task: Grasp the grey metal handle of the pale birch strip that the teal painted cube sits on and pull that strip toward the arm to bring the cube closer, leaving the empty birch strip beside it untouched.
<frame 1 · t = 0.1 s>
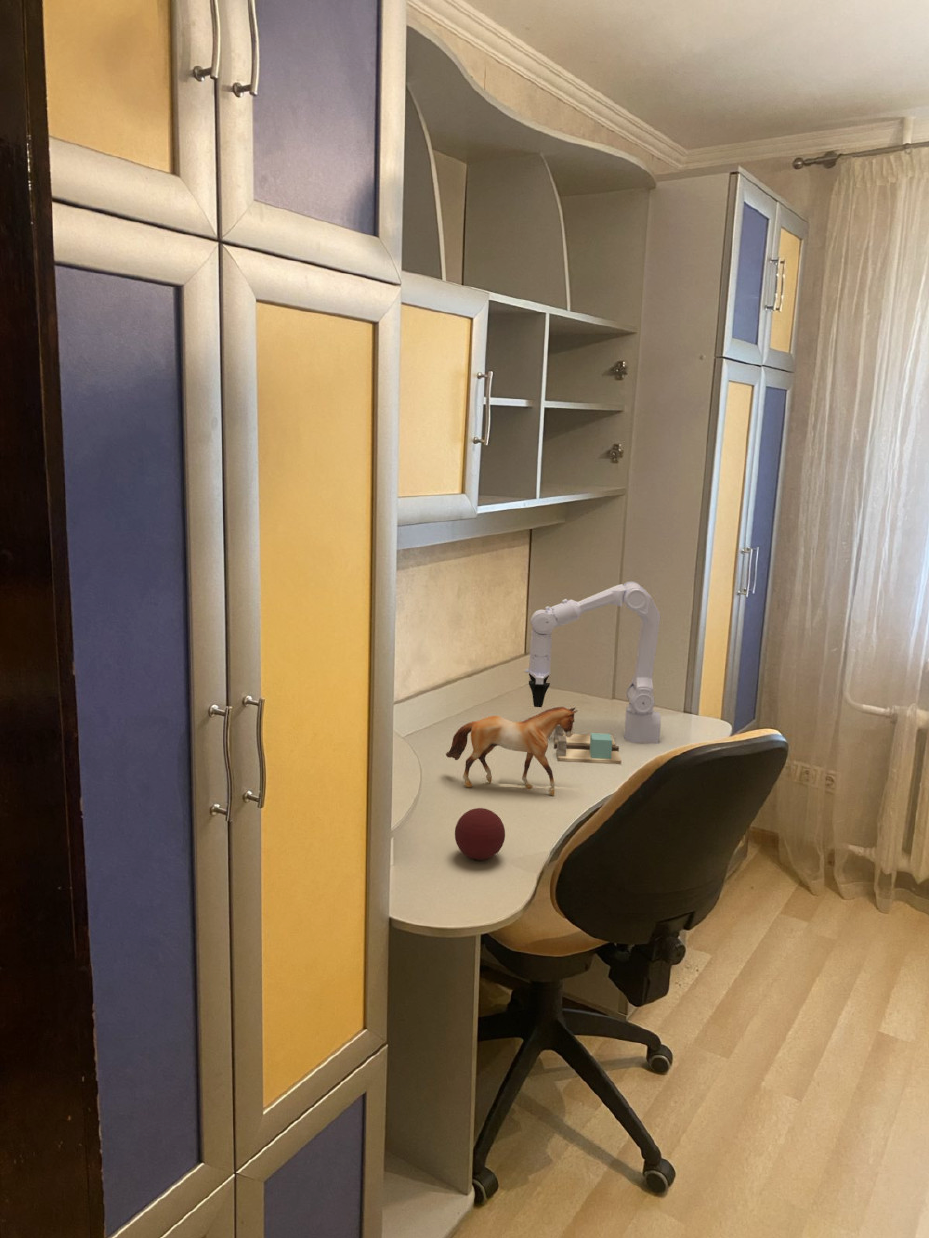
hand: (537, 702, 251), 10 cm above the table, tool pointing down, fingers open, 7 cm apart
loaded strip: (588, 748, 237), point 3 cm above the table, slide at 0.0 cm, touching teal cube
lane board: (586, 753, 243), on the table
horse figurine: (507, 783, 221), on the table
decorative ball: (478, 857, 183), on the table
empty strip: (584, 733, 248), point 3 cm above the table, slide at 0.0 cm
teal cube: (600, 755, 237), point 2 cm above the table, touching loaded strip
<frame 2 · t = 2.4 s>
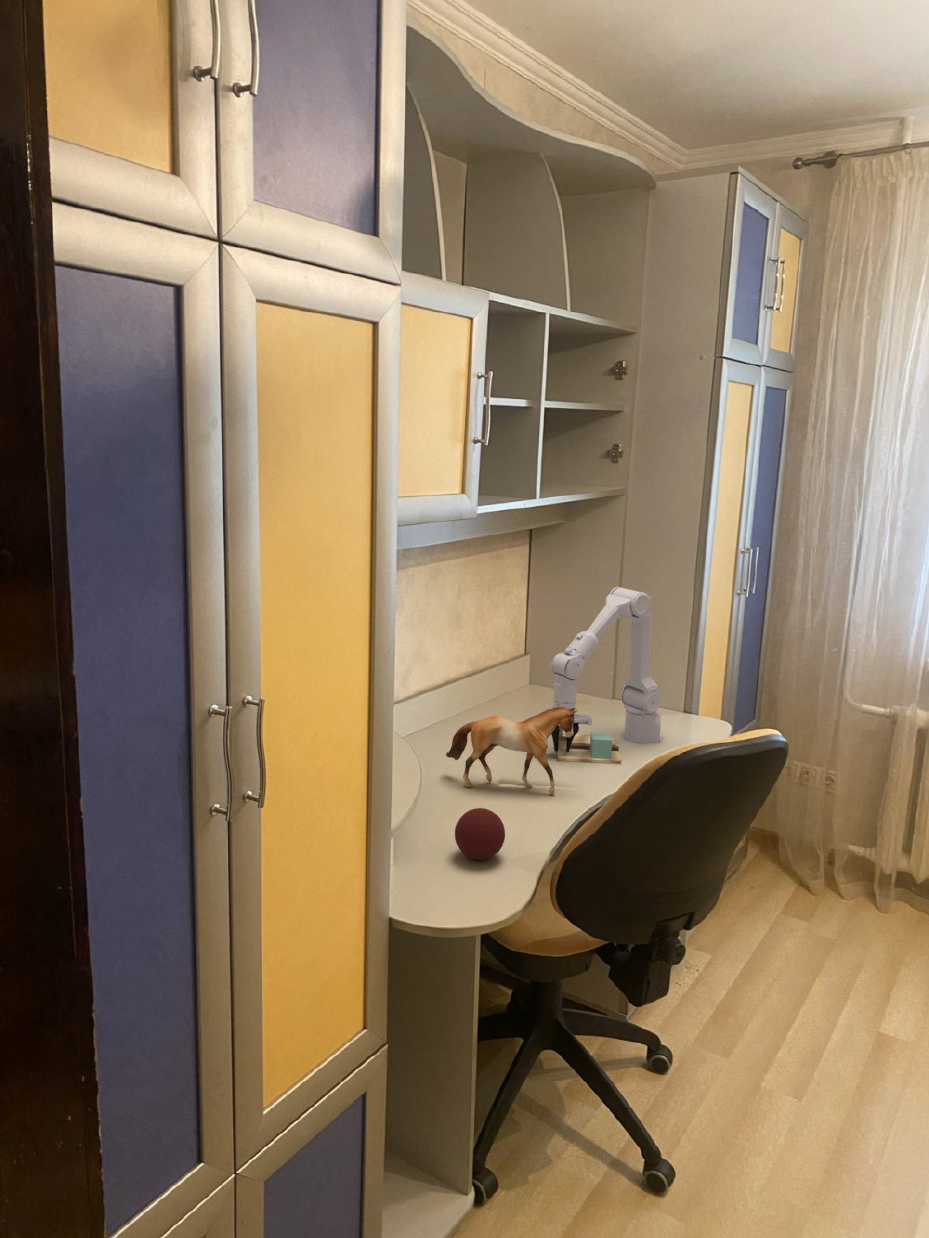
hand: (561, 750, 237), 2 cm above the table, tool pointing down, fingers closed on loaded strip, 2 cm apart
loaded strip: (588, 748, 237), point 3 cm above the table, slide at 0.0 cm, touching gripper, teal cube
everything else where it was.
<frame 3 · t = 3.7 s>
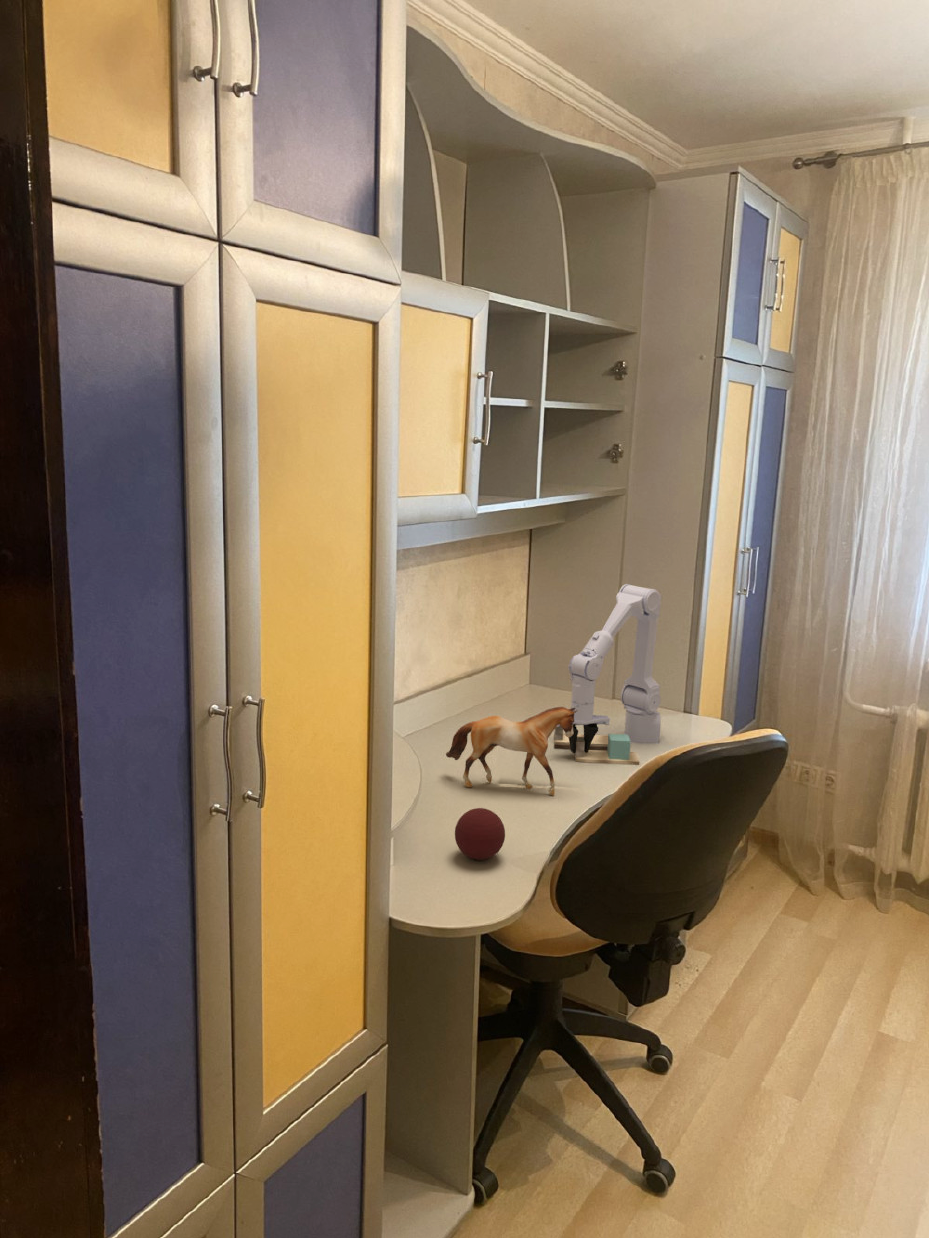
hand: (579, 751, 237), 2 cm above the table, tool pointing down, fingers closed on loaded strip, 3 cm apart
loaded strip: (606, 749, 237), point 3 cm above the table, slide at 4.6 cm, touching gripper, teal cube
teal cube: (618, 755, 237), point 2 cm above the table, touching loaded strip
everything else where it was.
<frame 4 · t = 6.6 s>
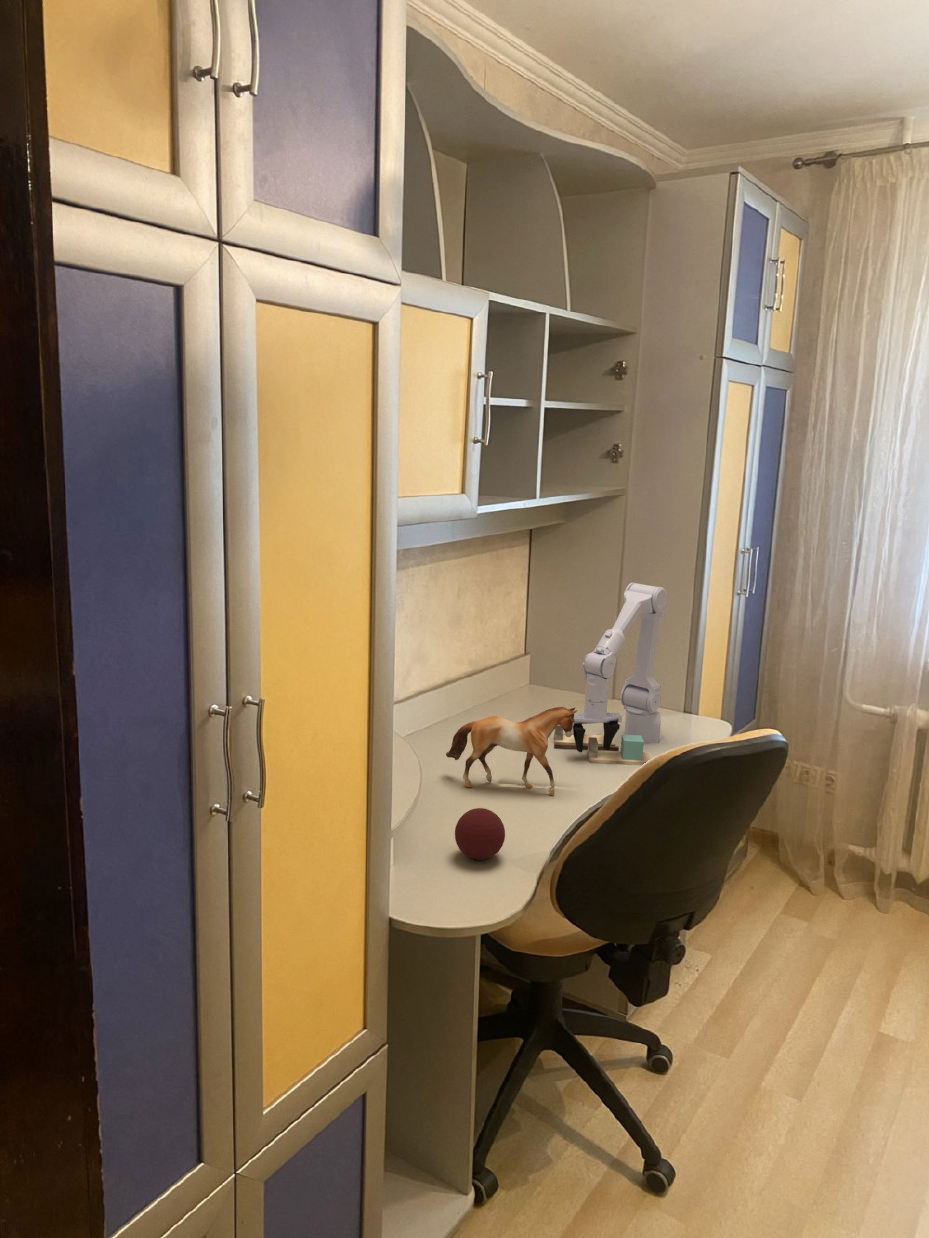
hand: (592, 749, 237), 3 cm above the table, tool pointing down, fingers open, 7 cm apart
loaded strip: (620, 750, 236), point 3 cm above the table, slide at 8.0 cm, touching teal cube
teal cube: (631, 756, 237), point 2 cm above the table, touching loaded strip
everything else where it was.
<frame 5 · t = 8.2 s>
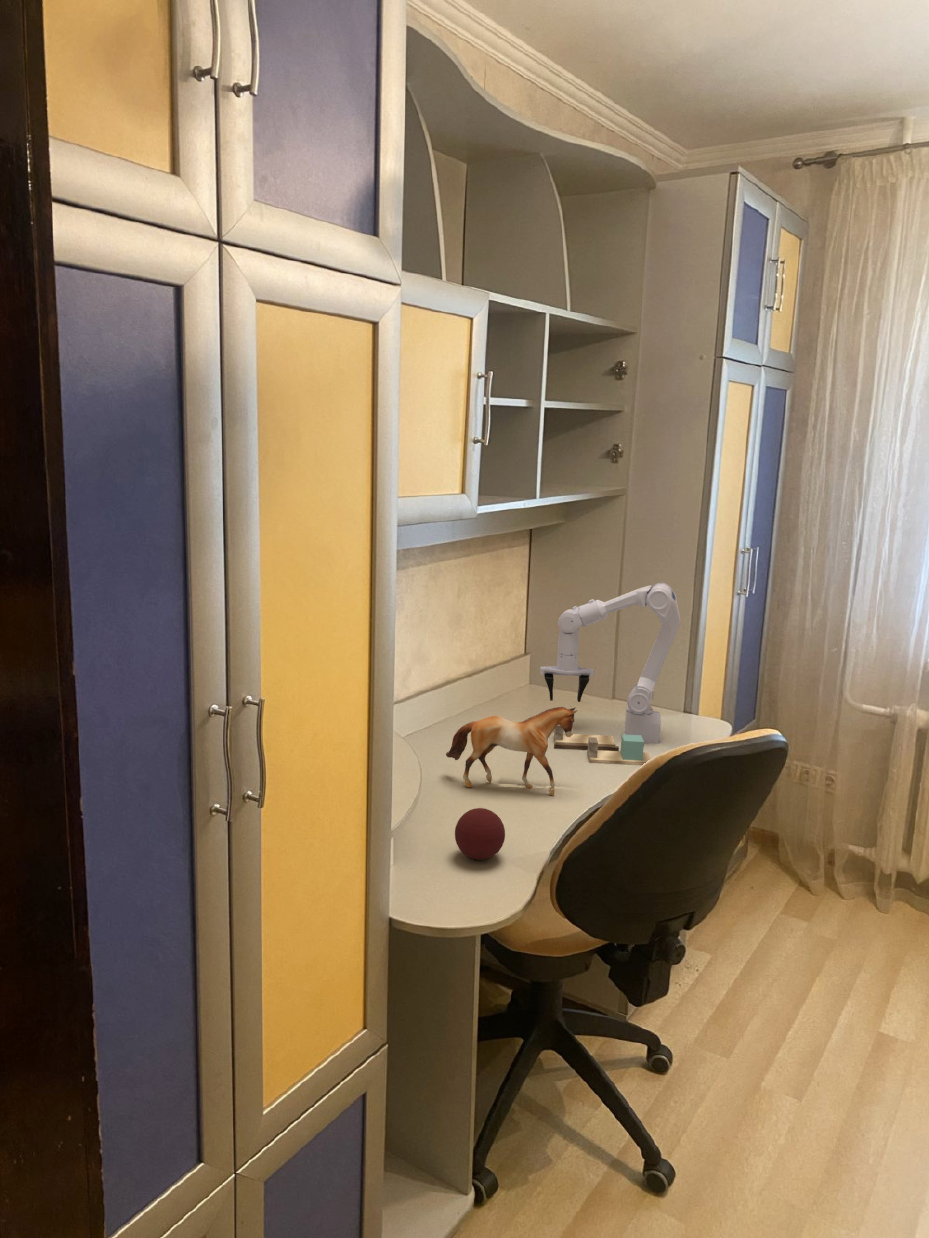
hand: (565, 700, 257), 9 cm above the table, tool pointing down, fingers open, 7 cm apart
nothing on the table moved.
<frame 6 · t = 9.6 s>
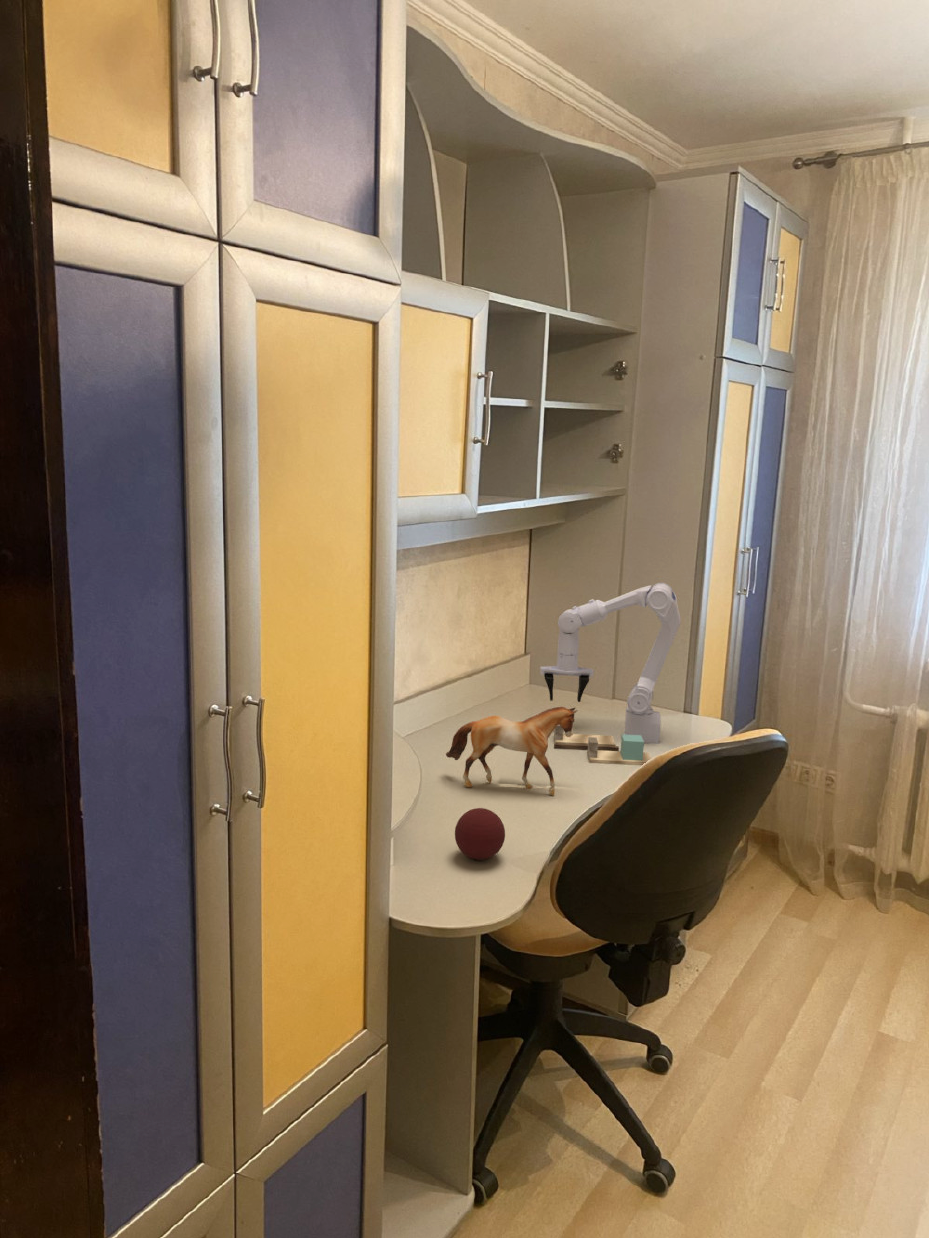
hand: (565, 700, 257), 9 cm above the table, tool pointing down, fingers open, 7 cm apart
nothing on the table moved.
at the end: loaded strip slide at 8.0 cm; teal cube 0.5 cm from the target spot, point 1.7 cm above the table; empty strip slide at 0.0 cm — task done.
